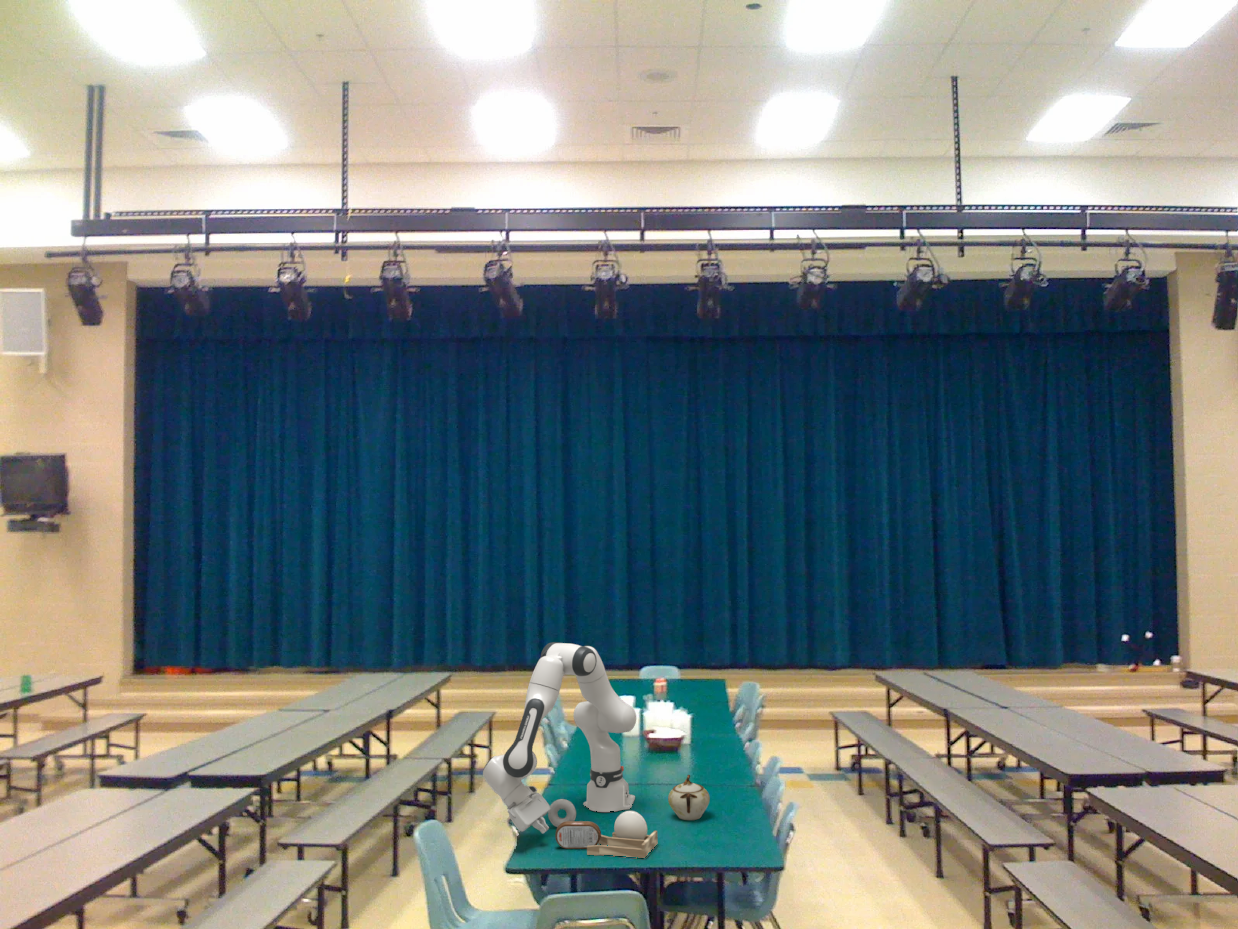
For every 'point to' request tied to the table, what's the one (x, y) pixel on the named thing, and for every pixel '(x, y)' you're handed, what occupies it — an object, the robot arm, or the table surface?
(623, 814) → the racked plate
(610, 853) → the rack
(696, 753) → the table surface
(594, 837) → the tin
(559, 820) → the donut
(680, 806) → the sugar bowl
